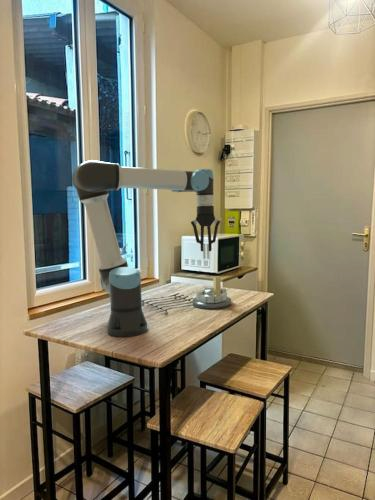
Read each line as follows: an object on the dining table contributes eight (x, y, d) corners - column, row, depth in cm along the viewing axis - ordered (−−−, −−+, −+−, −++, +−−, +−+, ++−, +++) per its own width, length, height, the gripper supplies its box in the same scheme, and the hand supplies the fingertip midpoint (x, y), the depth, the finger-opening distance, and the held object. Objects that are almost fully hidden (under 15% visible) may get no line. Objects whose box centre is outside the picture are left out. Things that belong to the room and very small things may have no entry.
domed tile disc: (204, 304, 170) (203, 278, 169) (192, 297, 184) (191, 273, 182) (232, 300, 175) (232, 275, 174) (218, 294, 189) (218, 270, 187)
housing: (201, 311, 168) (201, 295, 168) (187, 301, 185) (186, 287, 184) (238, 306, 175) (238, 291, 174) (220, 297, 191) (220, 283, 191)
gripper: (188, 205, 166) (189, 259, 169) (220, 205, 164) (221, 259, 167) (190, 205, 173) (191, 257, 176) (221, 204, 172) (222, 257, 175)
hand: (206, 258), depth 172 cm, fingers closed
